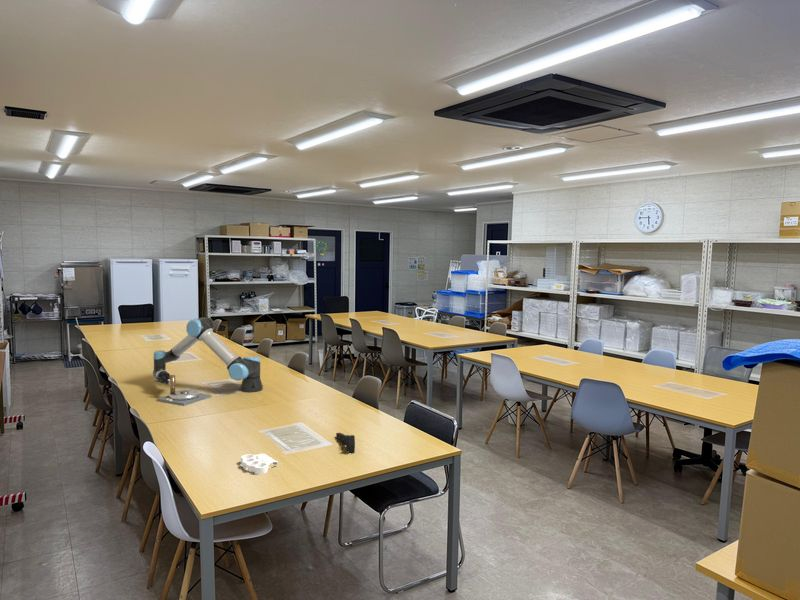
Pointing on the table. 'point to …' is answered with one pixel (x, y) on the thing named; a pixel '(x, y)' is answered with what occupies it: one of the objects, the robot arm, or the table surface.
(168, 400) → the stand plate
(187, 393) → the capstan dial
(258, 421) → the table surface
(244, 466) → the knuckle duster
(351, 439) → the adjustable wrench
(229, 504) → the table surface
